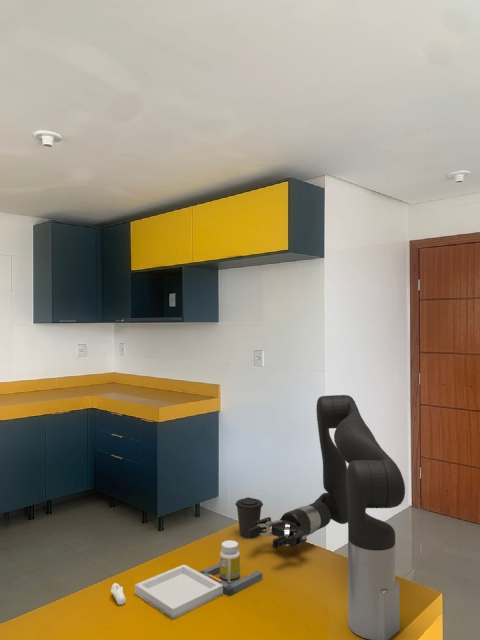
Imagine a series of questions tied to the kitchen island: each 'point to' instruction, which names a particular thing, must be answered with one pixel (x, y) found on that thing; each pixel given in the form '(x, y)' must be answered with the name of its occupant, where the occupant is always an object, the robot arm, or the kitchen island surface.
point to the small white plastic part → (118, 593)
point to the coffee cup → (248, 514)
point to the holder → (236, 585)
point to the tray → (178, 591)
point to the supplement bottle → (229, 562)
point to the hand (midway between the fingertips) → (261, 539)
